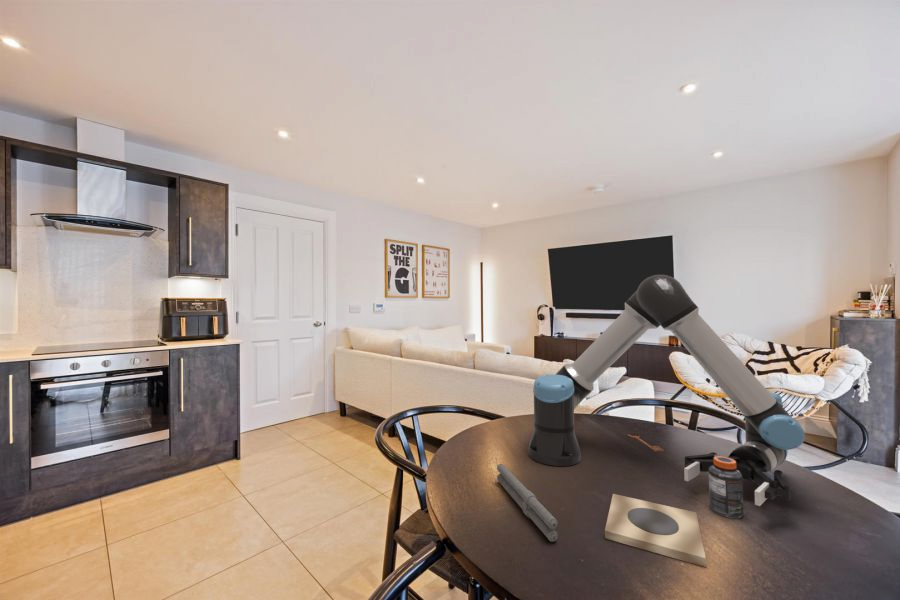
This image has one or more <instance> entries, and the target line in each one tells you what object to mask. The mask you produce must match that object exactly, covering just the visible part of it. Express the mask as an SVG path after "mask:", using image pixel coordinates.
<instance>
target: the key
mask: <svg viewBox="0 0 900 600" xmlns="http://www.w3.org/2000/svg"><path fill="white" fill-rule="evenodd" d="M627 436H628V437H629V438H633V439H636V440H638V441H639V442H641V443H642V444H643V445H645V446H646V447H648V448H649V449H651V450H652V451H654V452H659V451H660V452H661V451H663V452H664V451H665V450H664V449H663V448H661V447H660V446H659V445H650V444H649V443H647V442H646V441H644V440H643V439H642V438H640V437H641V436H640V435H638V434H636V433H628V435H627Z"/></svg>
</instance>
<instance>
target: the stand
mask: <svg viewBox="0 0 900 600" xmlns="http://www.w3.org/2000/svg"><path fill="white" fill-rule="evenodd" d="M610 500H611V502H610V506H609V511H608V513H607V518H606V519H607V520H606V524H605V527H604V539H606V540H609V541H612V542H616V543H620V544H624V545H627V546H631V547H635V548H637V549H641V550H644V551H648V552H651V553H654V554H659V555H662V556H666V557H668V558H673V559H676V560H680V561H683V562H686V563H690V564H692V565H697V566H700V567H704V568H706V567H707V562H706V561H707V559H706V553H705V549H704V544H703V540H702V534H701V530H700V529H701V528H700V524H699V520H698V515H697V512H694V511H691V510H687V509H682V508H677V507H673V506H668V505H665V504H660V503H655V502H652V501H648V500H643V499H638V498H634V497H629V496H624V495H621V494H616V493H612V497H611V499H610Z"/></svg>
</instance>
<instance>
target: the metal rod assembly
mask: <svg viewBox="0 0 900 600" xmlns="http://www.w3.org/2000/svg"><path fill="white" fill-rule="evenodd" d="M496 470H497V471H498V472H499V474H497V475H496V480H497V481H498V483H499V484H500V485H501V486H502V487H503V488H504V489H505V491H506V492H507V493H508V495H510V497H511V498H512V499H513V500H514V501H515V503H516V504H517V505H518V506H519V508H521V510H522V512H523V514H524V515H525V516H526V517H527V518H528V519H531V521H532V522H533V523H534V524H535V526H537V528H538V529H539V530H540V531H541V533H542V534H543V535H544V536H545V537H546V538H547V539H548V540H549V541H550V542H551V543H553V542H556V540H557V539H558V537H559V534H558V532H557V531H556V530H555V529H556V528H557V526H558V520H557V518H555V517H554V516H553V515H552V513H551V512H550V511H548V510H547V508H546V507H544V505H543V504H542V503H541V502H540V501H539V500H538V498H537V496H536V495H535V494H534V493H533V492H532V491H531V490H529V489H528V488H527V487H526V486H525V485H524V484H523V483H522V482H521V481H520V480H519V479H518V478H517V477H516V476H515V475H514V473H512V471H510V469H508V468H507V467H506V466H505V465H504V464H503V463H499V464H497V466H496Z"/></svg>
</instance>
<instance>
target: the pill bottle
mask: <svg viewBox="0 0 900 600" xmlns="http://www.w3.org/2000/svg"><path fill="white" fill-rule="evenodd" d="M727 457H728V456H721V455H720V456H719V455H717V456H716V457H714V462H713V463H714V465H712V466H710V467H709V472H708V495H709V496H708V497H709V498H708V499H709V501H708V502H709V508H710V509H711V510H712V511H713V512H714V513H716V514H718V515H720V516H722V517H723V516H724V517H727V518H731V519H740V518H742V517H744V509H745V508H744V487H743V484H744V483H743V478H742V474H741V473H740V472H739V471H738V470H736V468H737V466H736V461H735V460H733V459H731V458H727Z"/></svg>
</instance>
